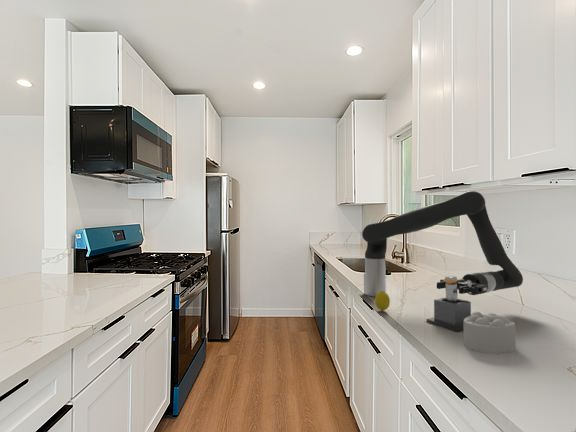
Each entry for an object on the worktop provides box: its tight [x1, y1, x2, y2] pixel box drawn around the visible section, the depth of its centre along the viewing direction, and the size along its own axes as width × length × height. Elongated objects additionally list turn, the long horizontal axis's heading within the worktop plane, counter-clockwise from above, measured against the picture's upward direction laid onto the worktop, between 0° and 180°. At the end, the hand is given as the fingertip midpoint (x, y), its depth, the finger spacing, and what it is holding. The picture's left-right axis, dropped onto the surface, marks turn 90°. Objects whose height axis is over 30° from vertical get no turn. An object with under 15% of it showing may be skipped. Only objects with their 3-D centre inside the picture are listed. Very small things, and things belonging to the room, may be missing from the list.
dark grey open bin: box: [426, 297, 472, 333], centre depth 115 cm, size 12×11×8 cm
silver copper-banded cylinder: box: [444, 275, 459, 303], centre depth 115 cm, size 4×4×14 cm
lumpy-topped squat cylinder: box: [463, 311, 517, 354], centre depth 96 cm, size 10×13×9 cm
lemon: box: [374, 291, 391, 312], centre depth 131 cm, size 6×6×8 cm
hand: (448, 288), depth 114 cm, fingers open, 8 cm apart
